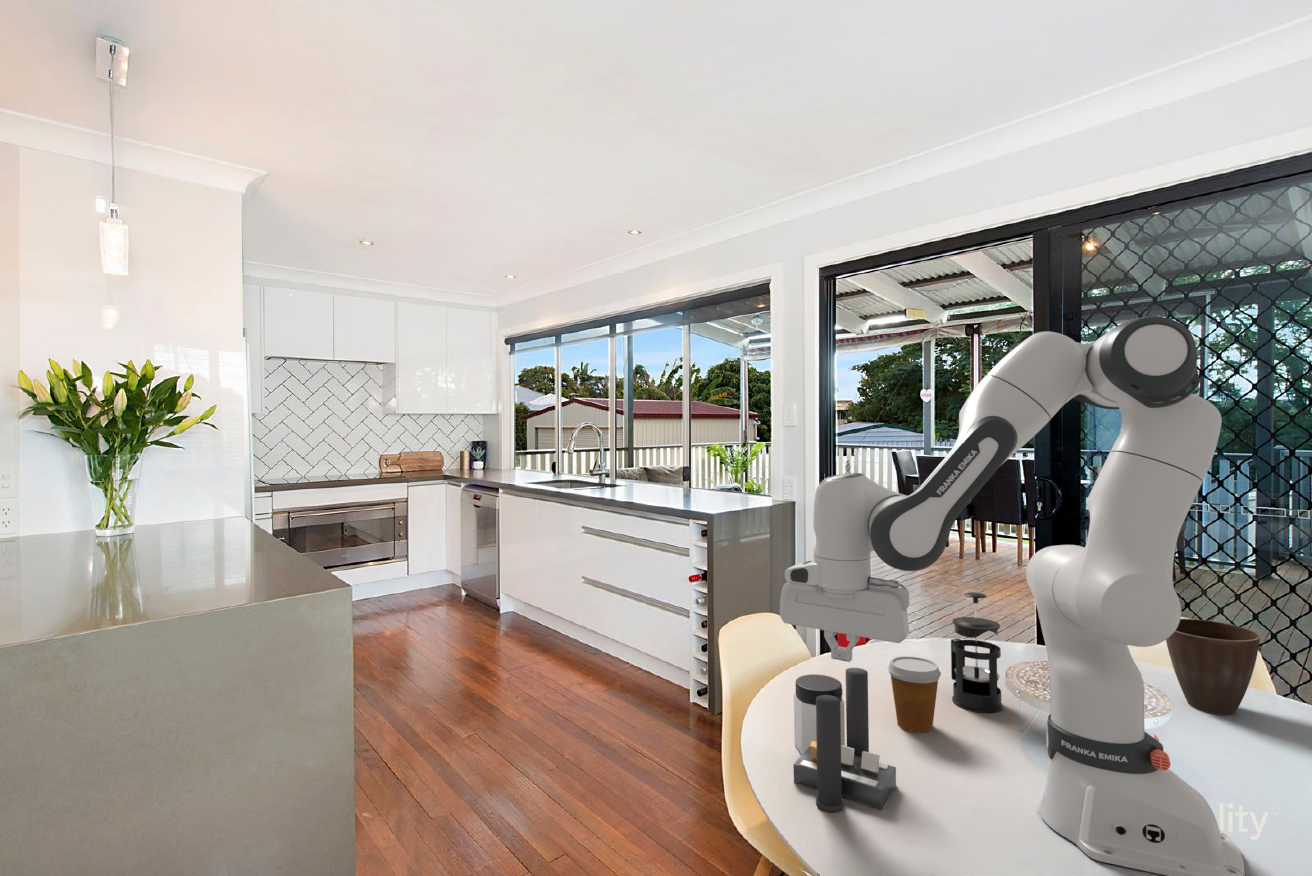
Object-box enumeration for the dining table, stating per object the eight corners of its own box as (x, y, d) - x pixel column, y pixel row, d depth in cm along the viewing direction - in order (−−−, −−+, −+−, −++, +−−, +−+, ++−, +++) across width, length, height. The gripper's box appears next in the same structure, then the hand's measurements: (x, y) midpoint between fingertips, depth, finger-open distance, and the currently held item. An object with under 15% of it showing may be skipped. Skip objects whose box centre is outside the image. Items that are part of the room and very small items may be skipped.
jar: (819, 766, 108) (818, 695, 108) (785, 747, 115) (784, 680, 115) (854, 751, 113) (853, 684, 113) (819, 734, 120) (818, 670, 120)
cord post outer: (846, 803, 97) (845, 698, 97) (838, 815, 94) (836, 707, 94) (821, 794, 99) (820, 692, 99) (812, 807, 96) (810, 701, 96)
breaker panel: (896, 785, 102) (895, 765, 102) (882, 810, 95) (881, 788, 95) (811, 761, 110) (811, 743, 110) (793, 782, 103) (793, 762, 103)
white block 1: (853, 764, 102) (854, 748, 103) (850, 765, 101) (852, 749, 102) (838, 760, 104) (839, 744, 104) (836, 761, 103) (837, 745, 103)
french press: (1016, 711, 129) (1014, 597, 129) (978, 717, 126) (976, 601, 126) (972, 689, 140) (970, 585, 140) (936, 694, 137) (935, 588, 137)
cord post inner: (873, 763, 109) (871, 670, 109) (866, 774, 105) (864, 677, 105) (850, 757, 111) (848, 665, 111) (842, 767, 108) (841, 672, 108)
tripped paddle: (828, 756, 104) (826, 744, 104) (825, 761, 103) (823, 749, 103) (814, 752, 106) (812, 740, 105) (811, 757, 105) (809, 745, 104)
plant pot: (1254, 731, 119) (1252, 645, 119) (1155, 706, 130) (1154, 628, 130) (1267, 709, 128) (1266, 629, 128) (1174, 687, 140) (1172, 614, 140)
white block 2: (878, 771, 100) (879, 755, 101) (876, 772, 99) (877, 755, 100) (863, 767, 101) (864, 751, 102) (860, 768, 100) (862, 751, 101)
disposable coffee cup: (890, 733, 120) (889, 669, 120) (887, 712, 129) (886, 653, 129) (945, 740, 117) (944, 674, 117) (938, 718, 126) (937, 657, 126)
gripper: (914, 578, 99) (914, 666, 99) (790, 563, 111) (790, 643, 111) (903, 585, 94) (904, 679, 94) (775, 569, 106) (775, 652, 106)
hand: (841, 659), depth 102 cm, fingers closed
